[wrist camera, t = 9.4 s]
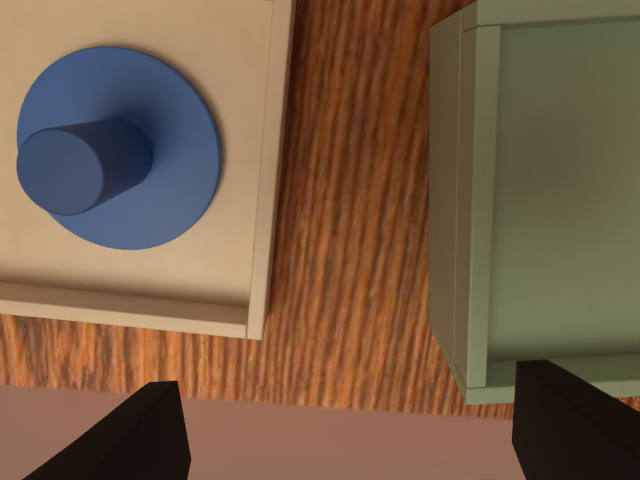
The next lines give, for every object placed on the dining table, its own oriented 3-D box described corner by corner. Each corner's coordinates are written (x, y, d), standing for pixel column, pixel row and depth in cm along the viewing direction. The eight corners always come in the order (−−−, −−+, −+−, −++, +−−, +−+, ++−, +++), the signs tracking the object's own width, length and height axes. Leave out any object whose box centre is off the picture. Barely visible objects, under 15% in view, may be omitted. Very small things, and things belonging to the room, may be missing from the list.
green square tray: (706, 308, 20) (844, 386, 15) (428, 323, 20) (465, 406, 15) (762, 4, 17) (965, -35, 11) (429, 26, 17) (477, -2, 12)
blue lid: (233, 240, 19) (205, 286, 14) (49, 250, 19) (-34, 300, 14) (209, 40, 17) (169, 23, 12) (4, 54, 17) (-110, 42, 12)
